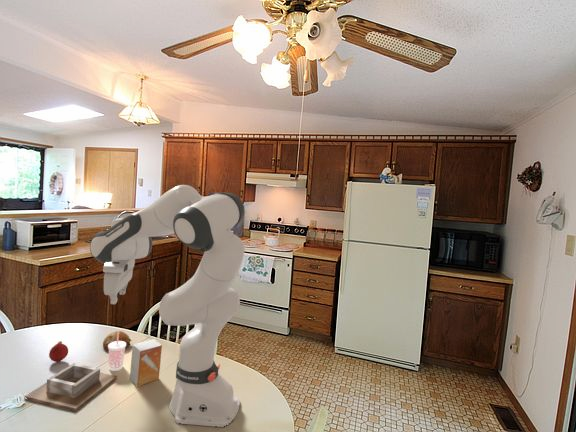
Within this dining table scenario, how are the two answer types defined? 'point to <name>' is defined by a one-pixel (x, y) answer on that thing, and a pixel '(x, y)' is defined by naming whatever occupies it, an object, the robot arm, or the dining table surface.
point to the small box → (145, 362)
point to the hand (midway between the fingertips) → (118, 298)
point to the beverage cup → (116, 354)
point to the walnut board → (71, 387)
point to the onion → (58, 352)
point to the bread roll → (113, 337)
